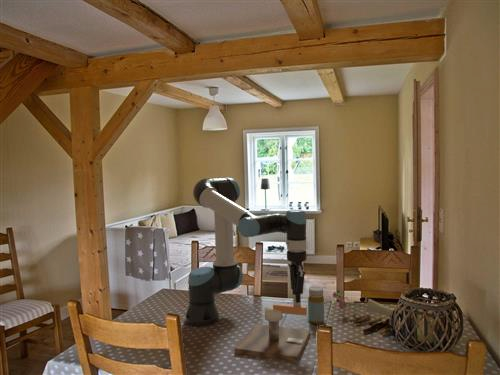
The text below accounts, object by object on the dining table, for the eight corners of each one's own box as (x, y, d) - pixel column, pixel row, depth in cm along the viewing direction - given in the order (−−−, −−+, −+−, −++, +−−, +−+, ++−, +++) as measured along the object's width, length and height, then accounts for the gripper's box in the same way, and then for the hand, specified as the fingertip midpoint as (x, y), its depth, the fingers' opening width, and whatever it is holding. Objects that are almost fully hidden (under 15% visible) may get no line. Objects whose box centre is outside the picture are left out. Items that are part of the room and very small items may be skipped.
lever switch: (262, 320, 156) (262, 306, 156) (267, 314, 163) (267, 300, 163) (305, 325, 151) (304, 310, 151) (308, 318, 158) (308, 303, 158)
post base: (234, 353, 152) (234, 327, 151) (254, 328, 174) (254, 305, 174) (297, 362, 144) (297, 335, 143) (310, 335, 166) (309, 311, 166)
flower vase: (405, 343, 174) (326, 316, 186) (407, 325, 184) (332, 300, 196) (412, 322, 169) (330, 296, 181) (414, 304, 179) (336, 281, 191)
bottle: (324, 325, 177) (323, 291, 176) (307, 324, 178) (307, 290, 177) (324, 319, 183) (324, 286, 182) (308, 318, 185) (308, 285, 184)
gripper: (282, 247, 162) (283, 304, 163) (292, 254, 149) (292, 316, 151) (300, 246, 163) (300, 303, 165) (311, 253, 151) (311, 314, 152)
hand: (296, 309), depth 158 cm, fingers closed
